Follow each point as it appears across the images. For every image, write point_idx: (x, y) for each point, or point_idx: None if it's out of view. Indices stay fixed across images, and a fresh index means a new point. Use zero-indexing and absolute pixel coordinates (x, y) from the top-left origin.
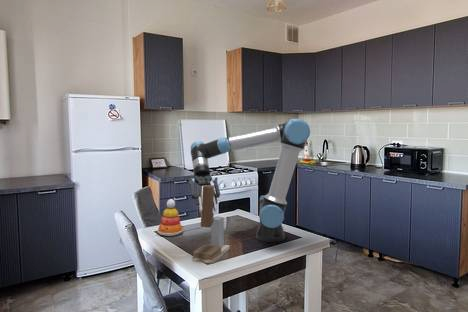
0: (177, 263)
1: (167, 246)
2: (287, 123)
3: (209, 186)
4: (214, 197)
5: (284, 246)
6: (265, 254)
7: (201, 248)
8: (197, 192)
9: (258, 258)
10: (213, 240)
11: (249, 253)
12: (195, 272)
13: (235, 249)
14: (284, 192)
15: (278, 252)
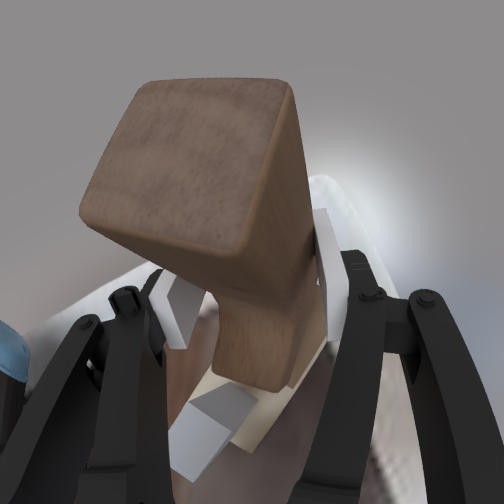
0: (396, 292)
1: (417, 468)
2: None
3: (177, 95)
4: (156, 285)
5: (38, 359)
6: (96, 312)
7: (307, 341)
8: (371, 333)
9: (123, 284)
10: (244, 400)
11: None
12: (338, 207)
13: (169, 389)
14: None
15: (63, 318)
